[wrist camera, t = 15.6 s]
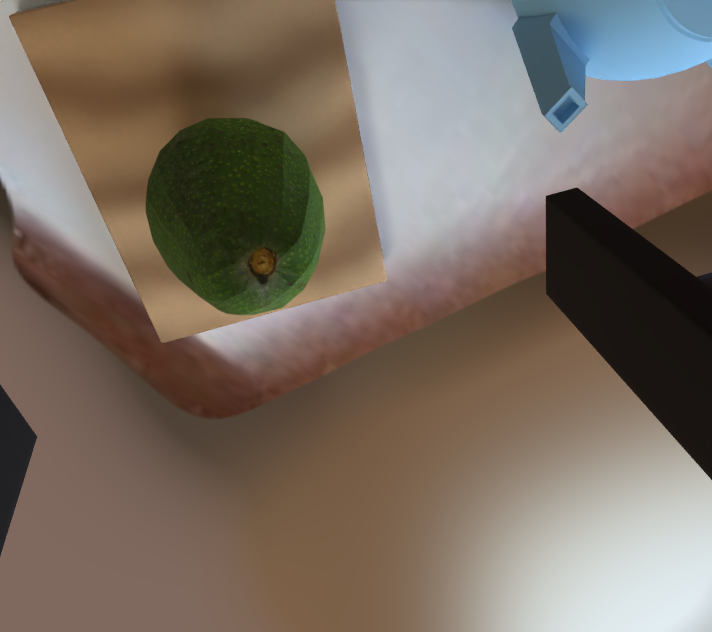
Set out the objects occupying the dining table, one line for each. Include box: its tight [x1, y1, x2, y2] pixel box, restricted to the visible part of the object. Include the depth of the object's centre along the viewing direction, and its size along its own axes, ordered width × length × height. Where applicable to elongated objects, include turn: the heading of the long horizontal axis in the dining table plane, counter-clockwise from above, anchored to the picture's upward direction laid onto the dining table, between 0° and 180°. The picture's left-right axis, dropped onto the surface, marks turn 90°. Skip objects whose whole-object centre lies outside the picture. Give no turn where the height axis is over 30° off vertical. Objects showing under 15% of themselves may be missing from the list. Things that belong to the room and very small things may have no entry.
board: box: [9, 0, 387, 343], centre depth 32 cm, size 18×14×2 cm
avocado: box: [145, 118, 325, 315], centre depth 27 cm, size 8×8×12 cm
